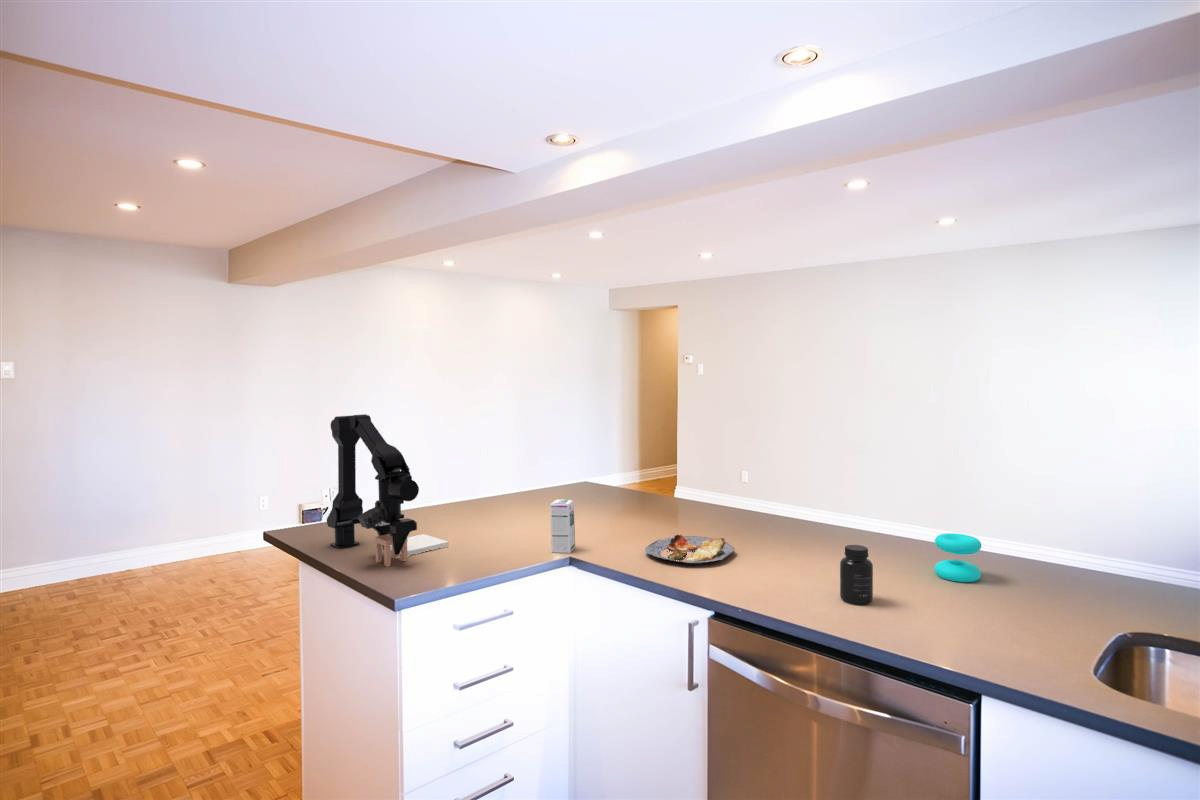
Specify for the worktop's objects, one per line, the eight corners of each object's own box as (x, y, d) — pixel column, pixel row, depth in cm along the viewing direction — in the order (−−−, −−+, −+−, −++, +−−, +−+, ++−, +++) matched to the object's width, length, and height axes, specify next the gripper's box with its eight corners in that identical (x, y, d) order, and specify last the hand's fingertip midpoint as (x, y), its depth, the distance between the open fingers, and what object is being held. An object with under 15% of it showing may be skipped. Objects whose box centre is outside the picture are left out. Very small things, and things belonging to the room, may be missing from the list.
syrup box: (570, 553, 182) (569, 503, 182) (550, 552, 184) (549, 502, 183) (575, 548, 188) (574, 499, 187) (556, 547, 189) (555, 498, 189)
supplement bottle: (834, 595, 146) (834, 543, 145) (863, 594, 146) (863, 542, 146) (848, 606, 139) (848, 552, 138) (878, 605, 139) (879, 550, 139)
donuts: (990, 542, 152) (947, 542, 152) (989, 583, 152) (947, 584, 152) (967, 531, 162) (927, 532, 162) (966, 570, 162) (927, 571, 162)
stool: (375, 561, 177) (374, 536, 177) (396, 556, 182) (395, 532, 181) (386, 566, 173) (385, 540, 172) (408, 561, 177) (407, 536, 177)
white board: (382, 547, 191) (382, 543, 191) (424, 538, 201) (423, 534, 201) (406, 556, 182) (406, 551, 181) (448, 546, 192) (448, 541, 192)
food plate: (670, 538, 197) (670, 527, 197) (744, 549, 185) (744, 537, 185) (633, 562, 175) (632, 549, 175) (713, 575, 164) (713, 562, 163)
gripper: (346, 496, 177) (348, 552, 178) (378, 506, 164) (380, 565, 165) (383, 491, 185) (385, 544, 186) (417, 499, 172) (418, 556, 173)
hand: (391, 552), depth 177 cm, fingers closed on stool, 6 cm apart
